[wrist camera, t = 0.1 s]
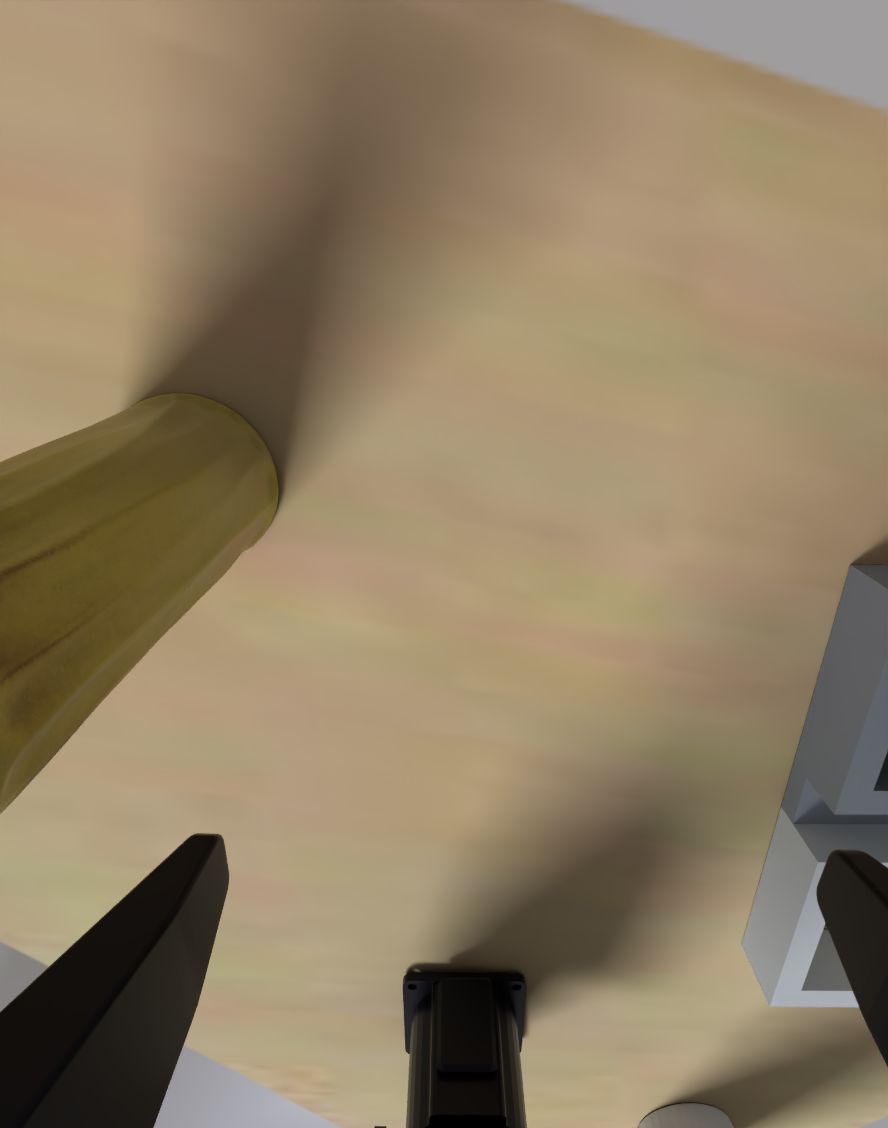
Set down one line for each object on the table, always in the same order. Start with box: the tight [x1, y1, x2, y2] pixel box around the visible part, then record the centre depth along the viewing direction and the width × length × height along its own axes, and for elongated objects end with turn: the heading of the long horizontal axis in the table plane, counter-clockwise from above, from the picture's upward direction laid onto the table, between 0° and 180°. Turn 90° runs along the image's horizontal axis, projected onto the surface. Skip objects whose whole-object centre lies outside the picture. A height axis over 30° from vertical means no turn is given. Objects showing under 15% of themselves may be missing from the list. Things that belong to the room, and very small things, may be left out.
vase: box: [0, 393, 279, 814], centre depth 15 cm, size 6×6×14 cm
